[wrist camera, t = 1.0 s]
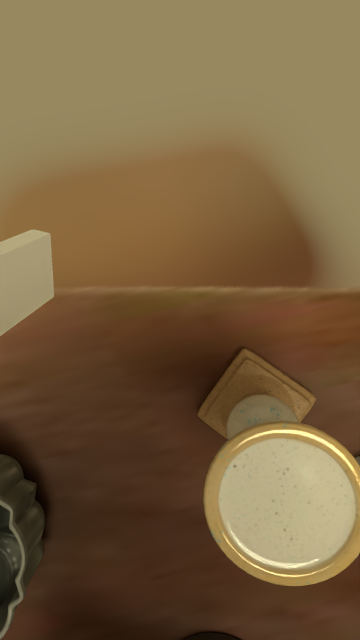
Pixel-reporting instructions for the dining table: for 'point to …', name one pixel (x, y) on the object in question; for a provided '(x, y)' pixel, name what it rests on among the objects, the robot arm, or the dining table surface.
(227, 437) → the candle holder
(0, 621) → the bundt pan
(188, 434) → the dining table surface
